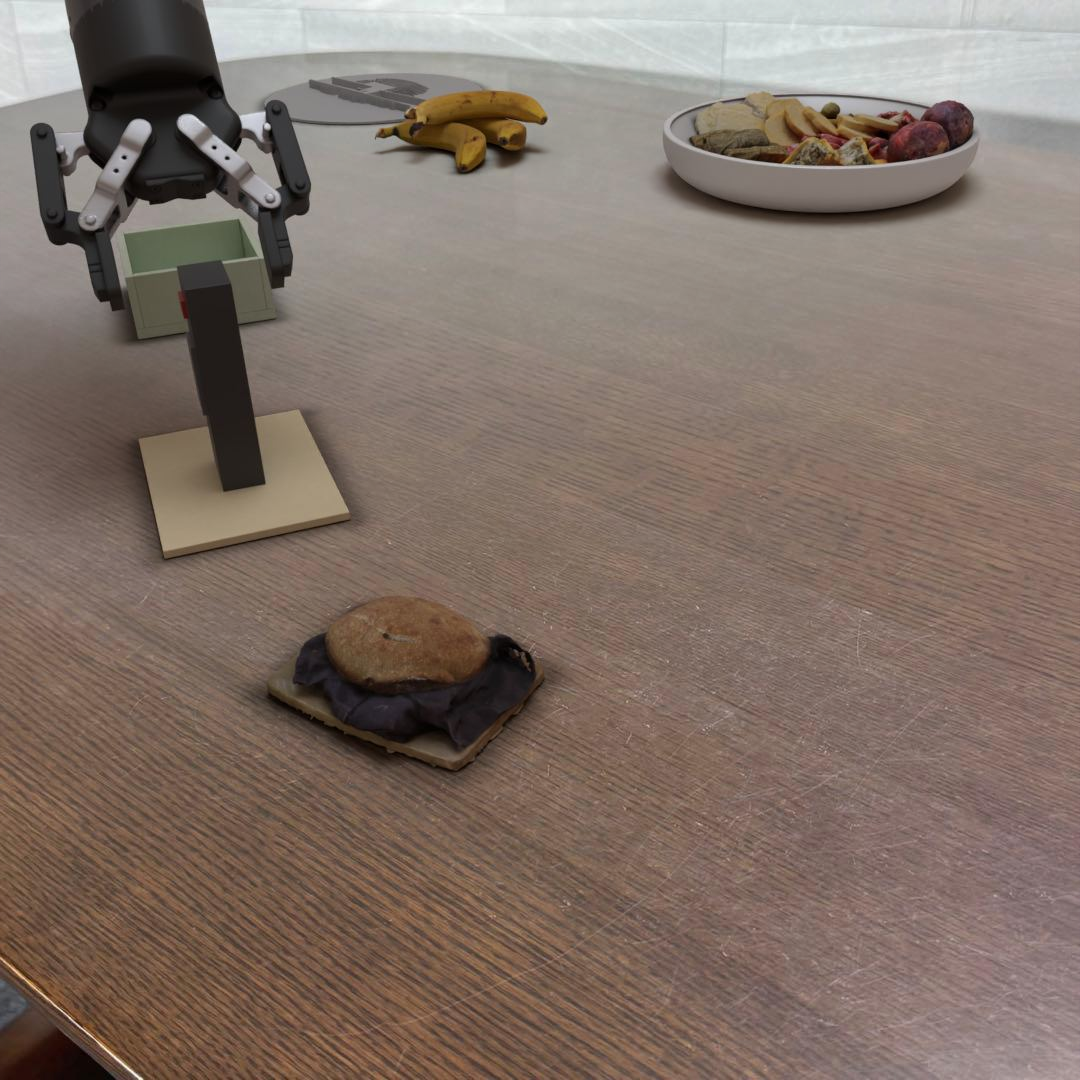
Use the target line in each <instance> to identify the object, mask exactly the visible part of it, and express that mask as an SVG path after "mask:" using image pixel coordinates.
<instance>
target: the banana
mask: <svg viewBox="0 0 1080 1080" xmlns="http://www.w3.org/2000/svg"><path fill="white" fill-rule="evenodd" d="M404 117H405V118H406V119H411V120H408V121H402V122H398V123H397V124H395V125H393V126H389V127H388V126H387V127H380V128H379V129H378V130H377V132H376V133H375V137H374V140H377V138H379V139H383V140H384V139H387V138H391V137H394V136H395V137H396V138H397V139H399V140H401V141H403V142H405V143H407V144H410V145H413V146H419V147H426V148H434V149H440V150H445V151H449V152H452V153H455V155H454V156H455V164H456V167H457V169H458V171H459V172H460V173H466V172H470V171H471V170H473V169H474V168H475V167H476V166H479V165H480V164H481V163H482V162H483V160H484V159H485V157H486V154H487V143H490V144H494V145H497V146H500V147H502V148H503V149H505V150H507V151H519V150H521V149H523V148H525V145H526V143H527V138H528V137H527V133H528V132H527V127H526V125H524V124H523V123H527V124H537V125H539V126H544V125H545V124H547V122H548V115H547V113H546V111H545V110H544V108H543V107H542V105H541V104H540V103H539V102H538V100H536V99H535V98H533V97H531V96H529V95H526V94H523V93H519V92H514V91H508V90H495V89H494V90H492V89H491V90H490V89H489V90H483V91H469V92H459V93H452V94H447V95H442V96H438V97H434V98H431V99H428V100H426V101H424V102H422V103H420V104H419V105H418V106H417V107H413V108H410V109H407V110H406V112H405V114H404ZM521 122H522V123H521Z"/></svg>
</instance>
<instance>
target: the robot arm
mask: <svg viewBox="0 0 1080 1080" xmlns="http://www.w3.org/2000/svg"><path fill="white" fill-rule="evenodd" d="M64 5H65V12H66V16H67V22H68V25H69V26H68V27H69V28H68V29H69V37H70V40H71V42H72V45H73V50H74V55H75V60H76V63H77V64H76V65H77V69H78V73H79V74H78V75H79V78H80V82H81V88H82V92H83V98H84V103H85V107H86V111H87V122H86V124H85V126H84V128H83V130H79V131H62V132H61V131H59V132H55V131H54V128H53V127H52V126H51V125H50V124H49V123H46V122H37V123H35V124H32V126H31V128H30V130H29V137H30V144H31V145H30V146H31V153H32V160H33V168H34V176H35V184H36V185H35V186H36V193H37V201H38V208H39V216H40V219H41V221H42V224H43V228H44V231H45V234H46V236H47V239H48V241H49V242H50V243H51V244H52V245H54V246H57V247H58V246H59V247H60V246H61V247H62V246H65V245H67V244H71V245H75V246H78V247H80V248H82V250H83V251H84V254H85V258H86V259H85V260H86V264H87V269H88V273H89V274H88V275H89V279H90V283H91V287H92V290H93V293H94V295H95V297H96V298H97V300H98V301H99V303H107V302H109V305H110V309H111V312H117V311H118V312H119V311H125V310H126V305H125V301H124V296H123V291H122V286H121V283H120V278H119V274H118V273H119V272H118V268H117V263H116V258H115V253H114V248H113V245H112V238H113V237H114V235H115V234H116V233H117V230H118V229H119V227H120V225H122V224H124V223H125V222H126V221H127V219H128V218H129V216H130V214H131V213H132V211H133V210H134V208H135V206H136V205H137V202H138V201H139V200H141V201H145V202H148V204H149V206H155V205H162V204H166V203H169V202H172V201H174V200H178V199H181V200H188V201H189V200H190V201H197V200H205V199H207V195H208V194H210V193H212V192H214V193H215V194H216V195H218V196H219V197H220V198H222V199H223V200H224V201H225V202H227V203H228V204H229V205H230V206H231V207H233V208H234V209H237V210H238V209H240V210H241V211H243V212H244V213H245V214H246V215H247V216H248V217H250V218H251V219H253V221H255V222H256V223H257V234H258V241H259V244H260V246H261V248H262V252H263V257H264V261H265V265H266V269H267V274H268V278H269V282H270V286H271V289H272V290H276V289H283V288H285V282H286V281H285V279H286V278H288V277H292V273H293V269H294V268H293V266H294V265H293V264H294V254H293V250H292V244H291V241H290V238H289V233H288V229H287V225H286V221H287V220H288V219H290V218H292V217H294V216H298V217H301V216H304V215H306V214H308V213H309V211H310V206H311V202H310V194H311V190H312V182H311V178H310V176H309V173H308V172H309V171H308V168H307V166H306V163H305V160H304V156H303V154H302V150H301V147H300V144H299V141H298V138H297V135H296V131H295V128H294V125H293V121H292V120H291V118H290V115H289V112H288V109H287V106H286V105H285V104H284V103H283V102H282V101H280V100H271V101H269V102H268V103H267V105H266V109H265V110H261V111H256V112H250V113H249V112H248V113H245V114H244V113H243V114H238V112H236V111H235V110H234V109H233V107H231V105H230V104H229V101H228V100H227V96H226V93H225V88H224V84H223V79H222V76H221V71H220V67H219V62H218V58H217V54H216V51H215V50H216V49H215V45H214V42H213V41H214V40H213V38H212V37H213V36H212V33H211V29H210V24H209V21H208V16H207V12H206V7H205V3H204V0H64ZM243 139H249V140H251V141H252V142H254V143H255V145H256V147H257V149H258V150H259V151H261V152H262V153H264V154H265V155H270V154H271V156H272V159H273V163H274V166H275V169H276V173H277V176H278V180H279V182H280V186H278V187H277V188H275V187H274V186H272V185H271V184H269V182H267V181H266V180H264V179H263V178H262V177H261V176H260V175H258V174H257V172H255V171H254V170H253V167H252V165H251V164H250V162H248V161H247V160H246V159H245V158H244V157H243V156H241V155H240V154H239V153H238V150H239V148H240V146H241V144H242V142H243ZM84 156H88V157H89V159H90V160H91V161H92V162H93V163H94V164H95V165H96V166H98V167H99V169H101V173H100V174H99V176H98V177H97V179H96V182H95V185H94V191H93V192H92V193H91V196H90V197H89V198H88V200H87V202H86V204H85V205H84V207H83V208H82V210H81V211H75V210H69V208H68V200H67V193H66V185H65V177H70V176H71V175H72V174H73V173H75V172H76V169H77V164H78V161H79V159H80V158H82V157H84Z"/></svg>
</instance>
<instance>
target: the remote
mask: <svg viewBox="0 0 1080 1080" xmlns="http://www.w3.org/2000/svg"><path fill="white" fill-rule="evenodd" d="M177 271H178V276H179V281H180V286H181V291H179V292H178V297H179V302H180V307H181V311H182V314H183V317H184V319H187V322H188V327H189V332H185V338H186V343H187V347H188V353H189V358H190V364H191V368H192V373H193V378H194V384H195V388H196V393H197V398H198V402H199V405H200V408H201V413H202V416H205V418H206V423H207V426H208V429H209V434H210V439H211V444H212V449H213V454H214V459H215V463H216V467H217V470H218V474H219V477H220V481H221V484H222V488H223V491H224V492H226V491H231V490H237V489H242V488H247V487H252V486H257V485H263V484H266V481H265V475H264V469H263V464H262V458H261V452H260V446H259V441H258V435H257V429H256V423H255V417H256V416H255V412H254V406H253V400H252V395H251V390H250V389H251V388H250V383H249V378H248V373H247V372H248V371H247V367H246V361H245V360H246V359H245V355H244V349H243V342H242V336H241V332H240V326H239V325H240V324H238V319H237V313H236V308H235V302H234V296H233V290H232V285H231V282H230V279H229V277H228V275H227V272H226V270H225V268H224V265H223V263H222V261H221V260H217V261H209V262H202V263H195V264H188V265H181V266H177Z"/></svg>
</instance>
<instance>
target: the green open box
mask: <svg viewBox="0 0 1080 1080" xmlns="http://www.w3.org/2000/svg"><path fill="white" fill-rule="evenodd" d="M115 238H116V242H117V248H118V252H119V256H120V257H119V258H120V261H121V267H122V271H123V276H124V281H125V285H126V289H127V294H128V299H129V304H130V307H131V312H132V313H131V314H132V316H133V321H134V326H135V330H136V331H135V332H136V334H137V335H136V336H137V339H138V340H144V339H150V338H151V339H152V338H159V337H164V336H171V335H177V334H183V333H187V332H189V327H188V322H187V319H184V317H183V314H182V311H181V307H180V302H179V297H178V292H179V291H181V286H180V281H179V276H178V271H177V266H181V265H188V264H195V263H202V262H209V261H217V260H221V261H222V263H223V265H224V268H225V270H226V272H227V275H228V277H229V279H230V282H231V285H232V290H233V296H234V302H235V308H236V313H237V319H238V325H240V324H241V325H242V324H248V323H253V322H254V323H255V322H261V321H268V320H273V319H277V315H276V309H275V301H274V294H273V289H271V286H270V282H269V278H268V274H267V269H266V265H265V261H264V257H263V252H262V248H261V244H260V241H259V239H258V238H257V236H256V235H255V232H254V230H253V228H252V226H251V225H250V223H249V220H248V219H247V217H246V216H245V215H240V216H232V217H226V218H225V217H224V218H218V219H211V220H202V221H194V222H187V223H186V222H185V223H178V224H171V225H163V226H157V227H149V228H140V229H134V230H125V231H116V232H115Z"/></svg>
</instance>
